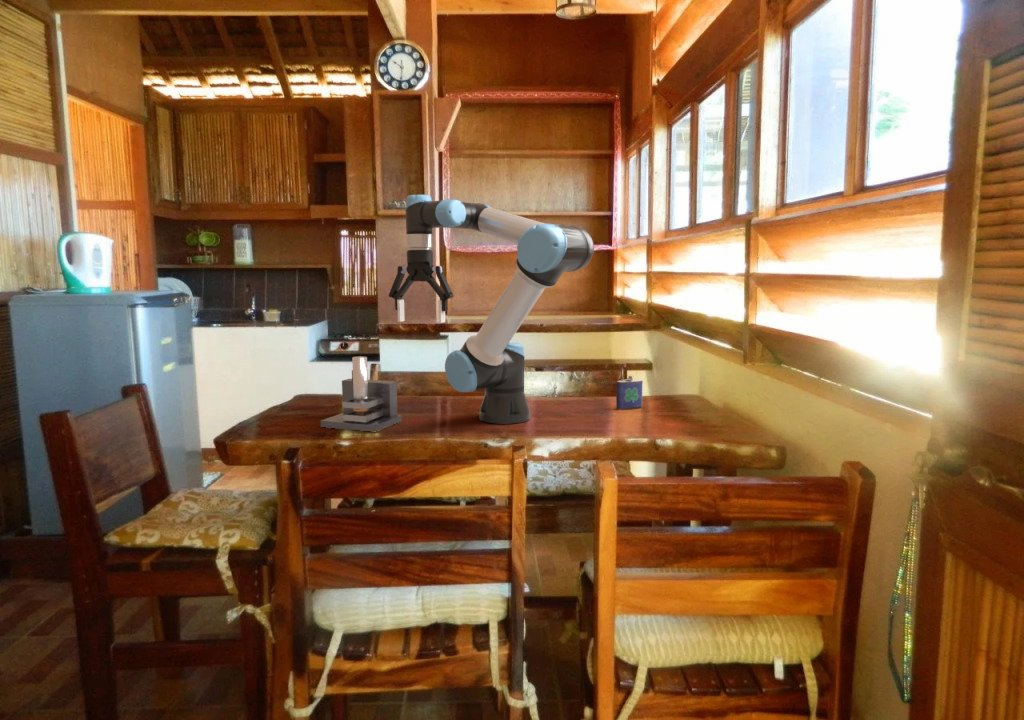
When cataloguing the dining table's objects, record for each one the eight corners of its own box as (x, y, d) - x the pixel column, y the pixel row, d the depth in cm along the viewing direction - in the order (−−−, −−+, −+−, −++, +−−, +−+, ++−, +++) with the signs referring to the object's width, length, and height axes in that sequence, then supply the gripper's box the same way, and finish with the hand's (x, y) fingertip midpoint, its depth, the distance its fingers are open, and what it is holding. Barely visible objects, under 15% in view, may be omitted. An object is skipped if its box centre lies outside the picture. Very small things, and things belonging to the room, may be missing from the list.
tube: (372, 419, 194) (370, 356, 191) (364, 422, 190) (361, 358, 188) (359, 418, 195) (357, 356, 193) (351, 421, 192) (348, 358, 189)
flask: (639, 406, 220) (640, 373, 219) (644, 408, 217) (645, 375, 216) (614, 408, 217) (615, 375, 215) (619, 410, 214) (619, 376, 212)
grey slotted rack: (401, 421, 200) (400, 371, 198) (375, 432, 187) (374, 378, 185) (349, 417, 206) (347, 368, 204) (320, 427, 193) (318, 375, 191)
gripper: (463, 249, 198) (465, 321, 201) (389, 250, 207) (391, 320, 210) (452, 248, 192) (454, 324, 194) (375, 249, 200) (378, 321, 203)
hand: (421, 322), depth 202 cm, fingers open, 13 cm apart
